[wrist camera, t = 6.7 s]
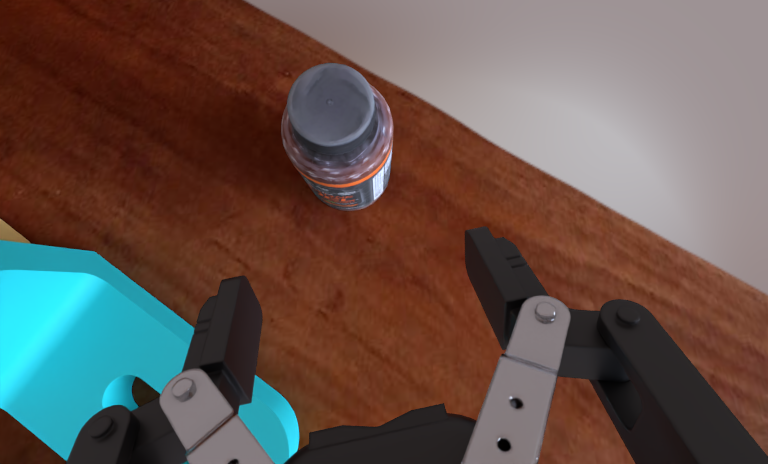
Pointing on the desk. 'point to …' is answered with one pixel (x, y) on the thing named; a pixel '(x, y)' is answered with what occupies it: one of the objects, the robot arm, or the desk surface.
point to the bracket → (97, 348)
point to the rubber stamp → (10, 234)
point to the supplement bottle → (339, 136)
